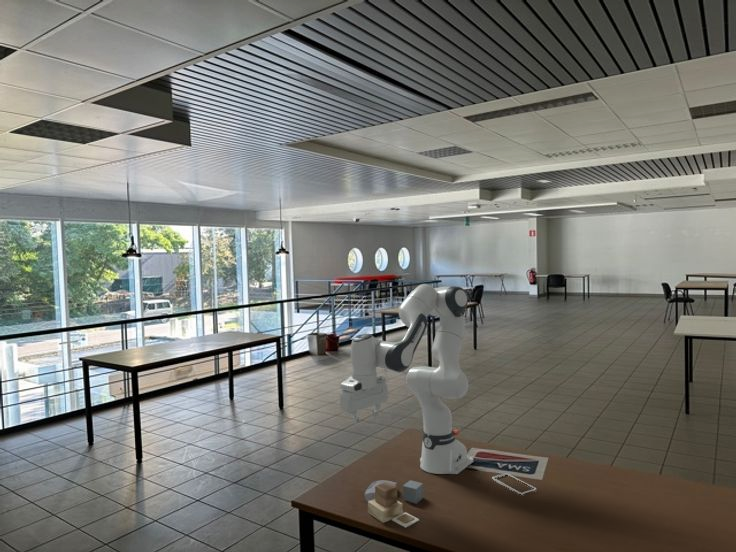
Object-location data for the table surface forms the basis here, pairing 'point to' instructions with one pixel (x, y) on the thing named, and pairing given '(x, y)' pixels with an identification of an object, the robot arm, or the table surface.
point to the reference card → (405, 519)
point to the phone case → (509, 486)
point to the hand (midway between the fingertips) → (366, 419)
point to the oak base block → (384, 510)
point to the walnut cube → (386, 494)
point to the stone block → (371, 489)
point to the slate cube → (413, 491)
